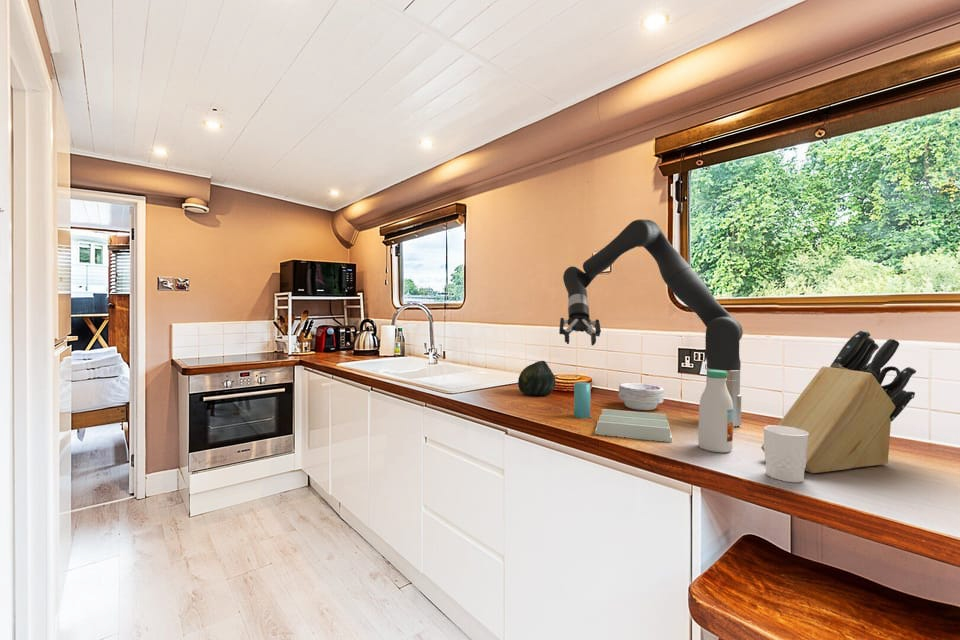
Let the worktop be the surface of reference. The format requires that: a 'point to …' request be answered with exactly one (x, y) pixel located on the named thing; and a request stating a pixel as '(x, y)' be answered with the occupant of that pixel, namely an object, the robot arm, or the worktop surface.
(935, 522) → the worktop surface
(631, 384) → the paper bowls
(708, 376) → the milk bottle
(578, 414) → the teal rounded upright block
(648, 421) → the rack
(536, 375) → the squash
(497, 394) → the worktop surface
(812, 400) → the knife block
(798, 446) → the white cup
